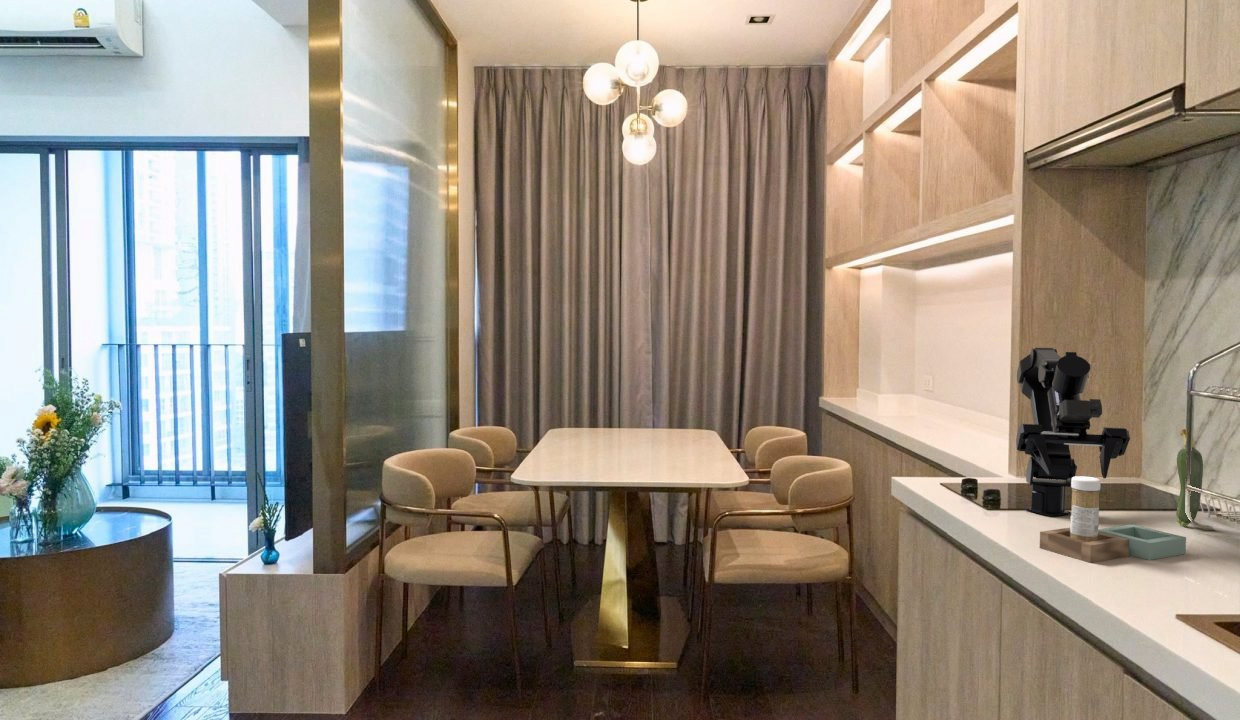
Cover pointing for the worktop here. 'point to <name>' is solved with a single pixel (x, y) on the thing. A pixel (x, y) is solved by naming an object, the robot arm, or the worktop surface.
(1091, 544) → the walnut socket
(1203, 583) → the worktop surface
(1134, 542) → the green square socket
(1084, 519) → the sprinkles bottle
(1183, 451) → the vegetable
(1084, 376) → the robot arm
